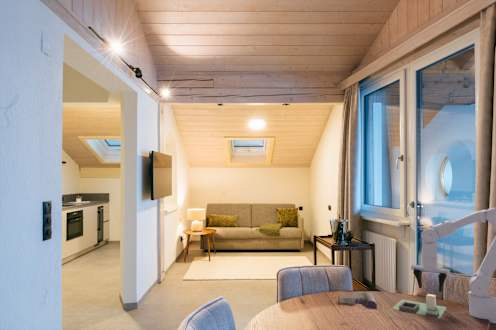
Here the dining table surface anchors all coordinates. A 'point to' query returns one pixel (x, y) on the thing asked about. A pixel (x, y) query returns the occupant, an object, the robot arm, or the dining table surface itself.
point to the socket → (403, 308)
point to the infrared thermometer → (359, 299)
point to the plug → (431, 301)
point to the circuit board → (423, 309)
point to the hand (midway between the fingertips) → (430, 289)
